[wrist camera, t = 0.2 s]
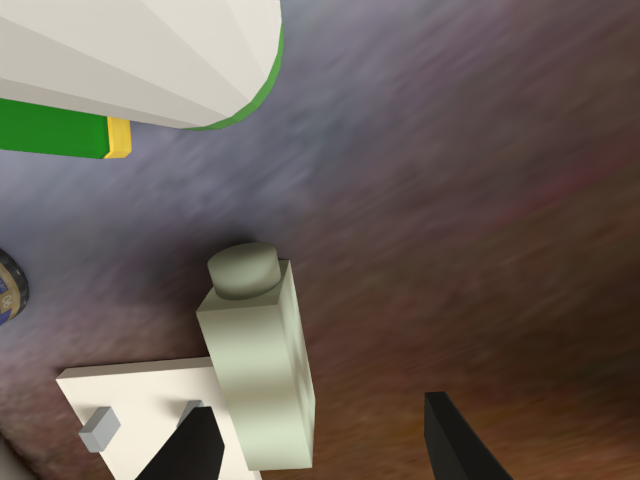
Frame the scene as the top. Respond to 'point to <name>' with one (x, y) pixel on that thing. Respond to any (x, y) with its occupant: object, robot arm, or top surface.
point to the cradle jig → (148, 411)
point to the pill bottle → (11, 289)
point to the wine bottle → (143, 58)
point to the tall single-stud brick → (260, 355)
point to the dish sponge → (62, 131)
